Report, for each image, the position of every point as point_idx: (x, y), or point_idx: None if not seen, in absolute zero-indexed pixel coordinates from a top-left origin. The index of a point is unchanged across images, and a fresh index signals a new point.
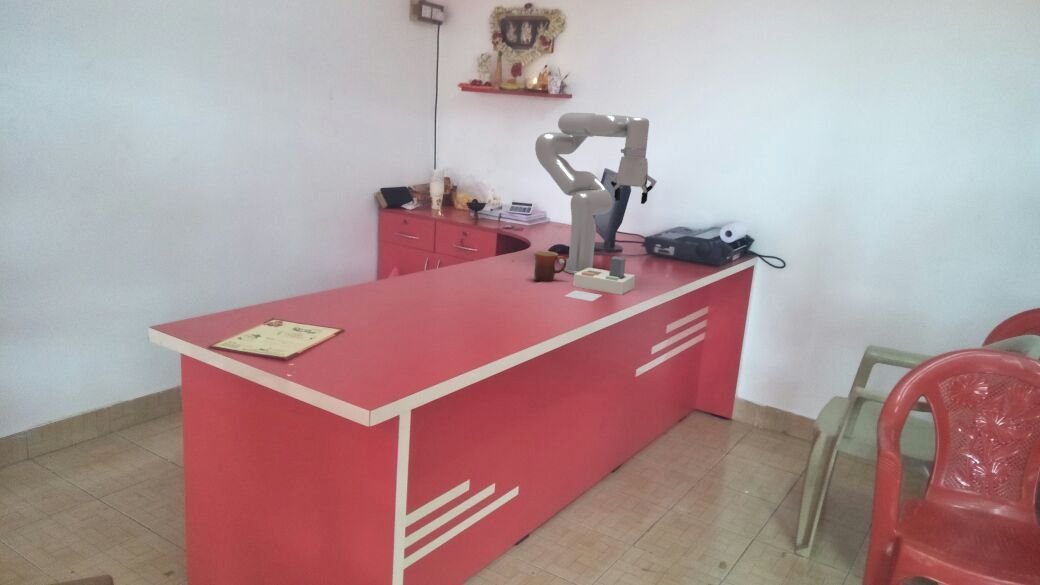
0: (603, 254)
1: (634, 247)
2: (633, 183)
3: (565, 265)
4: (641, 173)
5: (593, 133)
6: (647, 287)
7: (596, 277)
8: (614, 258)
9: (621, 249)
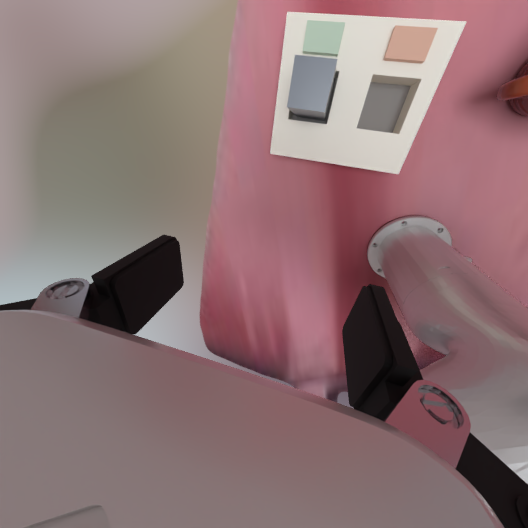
0: None
1: None
2: (87, 373)
3: (505, 83)
4: None
5: None
6: (254, 183)
7: (376, 24)
8: (323, 66)
9: None
